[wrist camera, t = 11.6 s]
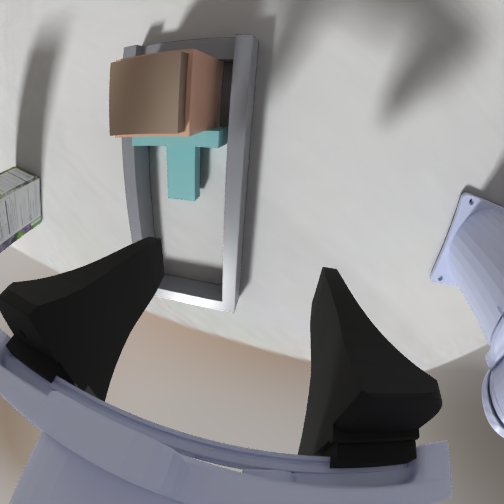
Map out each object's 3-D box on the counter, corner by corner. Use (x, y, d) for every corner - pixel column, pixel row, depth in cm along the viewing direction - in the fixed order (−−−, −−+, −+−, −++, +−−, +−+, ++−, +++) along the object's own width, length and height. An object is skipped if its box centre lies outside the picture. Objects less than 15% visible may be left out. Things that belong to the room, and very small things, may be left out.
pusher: (229, 127, 16) (219, 131, 14) (226, 198, 19) (216, 211, 17) (150, 125, 17) (131, 130, 15) (152, 191, 19) (136, 202, 17)
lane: (258, 41, 13) (253, 34, 11) (239, 297, 24) (234, 313, 22) (139, 50, 14) (124, 47, 12) (151, 279, 24) (142, 292, 23)
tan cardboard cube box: (223, 61, 14) (187, 45, 9) (219, 126, 16) (182, 139, 11) (160, 65, 14) (107, 59, 9) (158, 125, 17) (106, 140, 12)
